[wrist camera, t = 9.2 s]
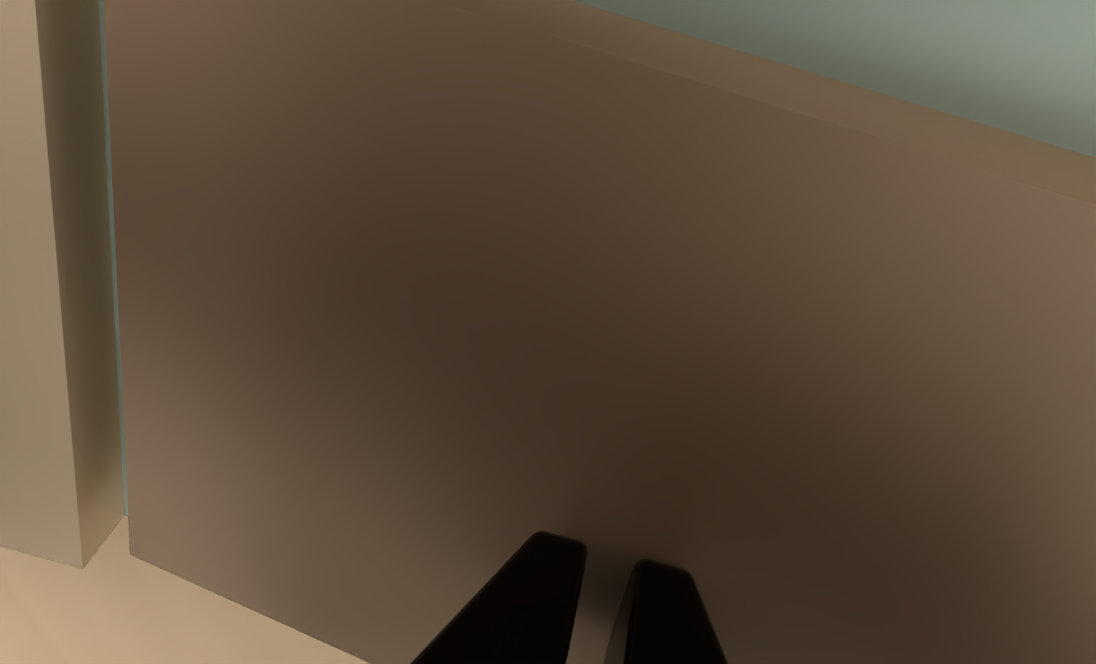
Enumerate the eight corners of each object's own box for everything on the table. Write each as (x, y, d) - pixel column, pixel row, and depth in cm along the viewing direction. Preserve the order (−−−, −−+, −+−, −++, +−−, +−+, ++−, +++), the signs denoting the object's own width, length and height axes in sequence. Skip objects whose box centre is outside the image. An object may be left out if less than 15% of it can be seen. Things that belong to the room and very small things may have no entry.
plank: (970, 847, 9) (969, 935, 8) (183, 503, 11) (129, 554, 10) (1411, 253, 6) (1466, 319, 5) (178, -118, 7) (97, -105, 7)
